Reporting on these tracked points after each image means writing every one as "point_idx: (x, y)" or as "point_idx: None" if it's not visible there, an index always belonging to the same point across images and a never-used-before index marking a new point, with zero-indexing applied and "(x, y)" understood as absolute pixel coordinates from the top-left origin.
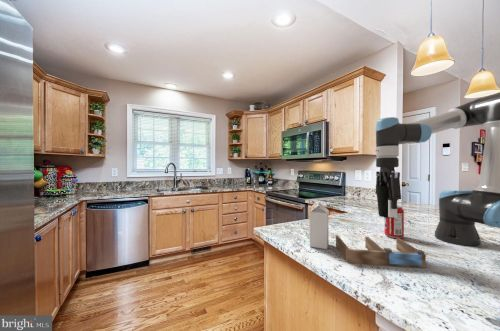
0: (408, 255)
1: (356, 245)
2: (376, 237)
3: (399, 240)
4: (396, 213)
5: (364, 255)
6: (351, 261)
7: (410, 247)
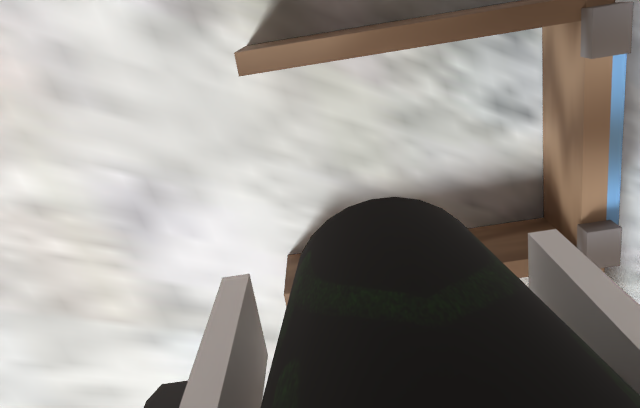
0: (618, 117)
1: (272, 316)
2: (7, 142)
3: (291, 67)
4: (581, 261)
5: None
6: None
7: (457, 40)
